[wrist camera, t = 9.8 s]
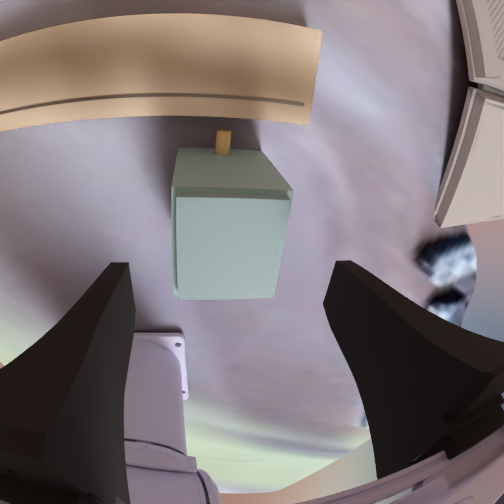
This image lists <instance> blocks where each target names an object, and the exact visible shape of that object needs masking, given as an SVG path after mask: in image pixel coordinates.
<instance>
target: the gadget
mask: <svg viewBox="0 0 504 504" xmlns="http://www.w3.org/2000/svg"><path fill="white" fill-rule="evenodd" d="M456 3H457V8H458V12H459V17H460V21H461V26H462V32H463V37H464V43H465V50H466V57H467V65H468V74H469V81H472V82H476V83H479V84H478V89H477V88H473V87H470V86H469V88H468V92H467V97H466V101H465V105H464V109H463V113H462V117H461V121H460V125H459V128H458V132H457V135H456V139H455V142H454V146H453V149H452V152H451V155H450V159H449V162H448V165H447V168H446V171H445V174H444V177H443V180H442V182H441V185H440V188H439V192H438V197H437V202H436V207H435V211H434V215H436V220H435V222H436V223H437V225H438V226H439V227H440V228H444V227H451V226H457V225H464V224H470V223H476V222H483V221H490V220H496V219H502V218H504V0H456Z"/></svg>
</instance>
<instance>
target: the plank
mask: <svg viewBox="0 0 504 504" xmlns="http://www.w3.org/2000/svg"><path fill="white" fill-rule="evenodd" d="M321 39H322V31H321V30H317V29H312V28H308V27H303V26H298V25H293V24H288V23H282V22H276V21H270V20H263V19H256V18H247V17H238V16H227V15H214V14H190V13H162V14H139V15H125V16H115V17H106V18H98V19H91V20H85V21H79V22H73V23H68V24H62V25H58V26H53V27H49V28H44V29H40V30H36V31H32V32H29V33H25V34H22V35H18V36H15V37H12V38H8V39H5V40H2V41H0V132H1V131H6V130H11V129H17V128H23V127H29V126H35V125H42V124H49V123H57V122H65V121H75V120H85V119H97V118H111V117H131V116H209V117H229V118H244V119H257V120H268V121H277V122H287V123H295V124H303V125H309V120H310V114H311V107H312V101H313V94H314V88H315V81H316V74H317V67H318V60H319V53H320V46H321Z"/></svg>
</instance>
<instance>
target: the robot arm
mask: <svg viewBox="0 0 504 504" xmlns="http://www.w3.org/2000/svg"><path fill="white" fill-rule="evenodd" d="M323 306H324V309H325V312H326V316H327V319H328V322H329V325H330V327H331V330H332V332H333V334H334V336H335V338H336V340H337V342H338V344H339V347H340V349H341V351H342V353H343V355H344V357H345V359H346V361H347V363H348V365H349V367H350V370H351V372H352V374H353V376H354V379H355V381H356V384H357V387H358V390H359V393H360V396H361V399H362V402H363V406H364V410H365V413H366V417H367V421H368V425H369V429H370V434H371V439H372V444H373V449H374V457H375V464H376V473H377V478H378V480H376V481H373V482H370V483H367V484H364V485H361V486H358V487H355V488H352V489H349V490H346V491H343V492H339V493H336V494H333V495H329V496H325V497H321V498H317V499H313V500H309V501H305V502H300V503H296V504H374V503H376V502H379V501H382V500H384V499H386V498H389V497H391V496H394V495H396V494H398V493H400V492H403V491H405V490H407V489H409V488H411V487H413V486H414V487H413V489H412V492H411V493H409V494H408V495H405V496H404V497H401V498H399V499H397V500H396V501H394V502H392V503H390V504H494V503H495V502H496V501H497V500H498V499H499V498H500V496H501V495H502V494H503V493H504V410H503V409H502V407H501V406H500V405H502V404H503V403H504V399H503V397H502V396H501V394H502V393H503V392H504V342H501V341H498V340H494V339H490V338H487V337H484V336H482V335H479V334H476V333H473V332H471V331H468V330H466V329H463V328H461V327H459V326H457V325H455V324H452V323H450V322H448V321H446V320H444V319H442V318H440V317H438V316H437V315H435V314H433V313H431V312H429V311H427V310H426V309H424V308H422V307H421V306H419V305H417V304H416V303H414V302H413V301H411V300H410V299H408V298H406V297H405V296H403V295H402V294H400V293H399V292H397V291H396V290H395V289H393V288H392V287H390V286H389V285H387V284H386V283H384V282H383V281H382V280H380V279H379V278H377V277H376V276H374V275H373V274H372V273H370V272H369V271H367V270H366V269H364V268H363V267H361V266H359V265H358V264H356V263H354V262H352V261H351V260H348V261H336V263H335V266H334V270H333V273H332V276H331V280H330V283H329V286H328V289H327V292H326V296H325V299H324V302H323ZM135 310H136V309H135V303H134V297H133V291H132V284H131V277H130V270H129V262H111V263H110V264H109V265H108V266H107V268H106V269H105V270H104V271H103V272H102V273H101V274H100V276H99V277H98V278H97V279H96V280H95V282H94V283H93V284H92V285H91V286H90V288H89V289H88V290H87V291H86V292H85V293H84V294H83V296H82V297H81V298H80V299H79V300H78V301H77V303H76V304H75V305H74V306H73V307H72V308H71V309H70V310H69V311H68V312H67V313H66V314H65V315H64V317H63V318H62V319H61V320H60V321H59V322H58V323H57V324H56V325H55V326H54V327H52V328H51V329H50V330H49V331H48V332H47V333H46V334H45V335H44V336H43V337H42V338H40V339H39V340H38V341H37V342H36V343H34V344H33V345H32V346H31V347H29V348H28V349H27V350H26V351H24V352H23V353H22V354H21V355H19V356H18V357H17V358H15V359H14V360H13V361H11V362H10V363H8V364H7V365H6V366H4V367H3V368H1V369H0V504H222V503H221V498H220V494H219V491H218V488H217V486H216V484H215V483H214V481H213V480H212V479H211V478H210V476H209V475H208V474H207V473H206V472H205V471H204V470H202V469H197V465H196V458H195V457H191V456H187V451H186V439H185V426H184V411H183V400H186V399H188V398H189V394H188V383H187V371H186V357H185V341H184V335H183V334H181V333H134V325H135Z"/></svg>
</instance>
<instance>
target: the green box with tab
mask: <svg viewBox="0 0 504 504" xmlns="http://www.w3.org/2000/svg"><path fill="white" fill-rule="evenodd" d="M230 141H231V131H230V130H224V129H220V130H217V138H216V148H196V147H178V151H177V157H176V162H175V168H174V174H173V180H172V186H171V230H172V266H173V289H174V296H178V300H214V299H253V298H273V295H274V292H275V287H276V282H277V277H278V271H279V266H280V261H281V256H282V251H283V245H284V240H285V235H286V229H287V224H288V218H289V213H290V207H291V202H292V196H293V189H292V188H291V187H290V185H289V184H288V183H287V182H286V180H285V179H284V178H283V177H282V175H281V174H280V173H279V172H278V170H277V169H276V168H275V167H274V165H273V164H272V163H271V162H270V160H269V159H268V158H267V157H266V155H265V154H264V153H263V152H262V151H260V150H245V149H230Z"/></svg>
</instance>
